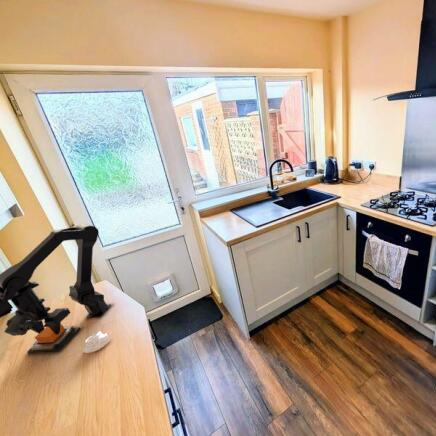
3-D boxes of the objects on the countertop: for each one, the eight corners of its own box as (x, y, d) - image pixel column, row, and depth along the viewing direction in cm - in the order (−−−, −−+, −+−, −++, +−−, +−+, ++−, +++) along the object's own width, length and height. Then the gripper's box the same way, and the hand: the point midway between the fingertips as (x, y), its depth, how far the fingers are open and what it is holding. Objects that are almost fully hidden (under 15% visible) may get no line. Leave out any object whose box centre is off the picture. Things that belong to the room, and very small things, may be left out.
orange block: (65, 329, 95) (61, 324, 94) (52, 342, 90) (48, 336, 89) (52, 330, 95) (48, 325, 94) (39, 343, 90) (34, 337, 89)
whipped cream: (88, 359, 86) (81, 351, 83) (81, 349, 89) (74, 341, 87) (113, 341, 91) (107, 333, 89) (105, 332, 95) (99, 324, 92)
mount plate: (80, 329, 98) (77, 324, 97) (59, 351, 89) (55, 347, 88) (52, 330, 99) (49, 326, 98) (28, 353, 90) (24, 349, 88)
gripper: (-24, 323, 79) (5, 355, 85) (30, 319, 78) (55, 352, 84) (12, 298, 89) (35, 328, 96) (60, 294, 88) (80, 325, 94)
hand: (51, 334), depth 92 cm, fingers closed on orange block, 5 cm apart
